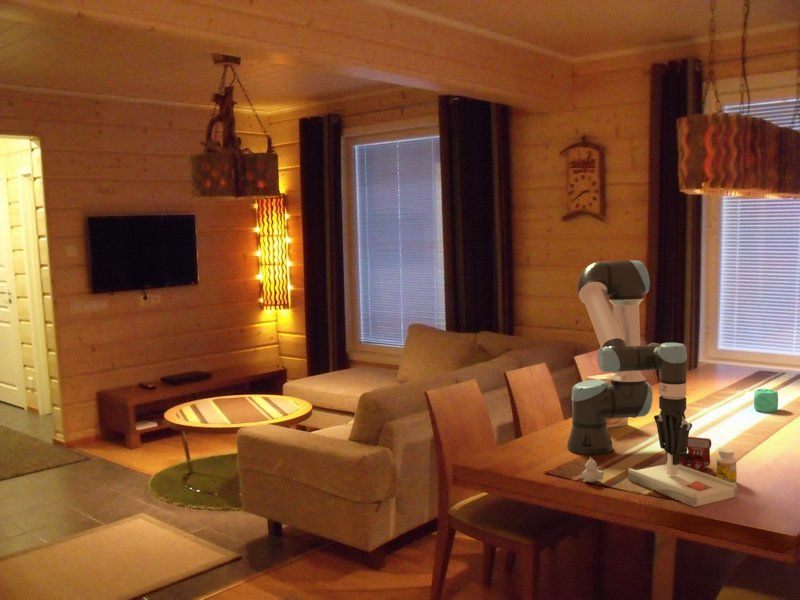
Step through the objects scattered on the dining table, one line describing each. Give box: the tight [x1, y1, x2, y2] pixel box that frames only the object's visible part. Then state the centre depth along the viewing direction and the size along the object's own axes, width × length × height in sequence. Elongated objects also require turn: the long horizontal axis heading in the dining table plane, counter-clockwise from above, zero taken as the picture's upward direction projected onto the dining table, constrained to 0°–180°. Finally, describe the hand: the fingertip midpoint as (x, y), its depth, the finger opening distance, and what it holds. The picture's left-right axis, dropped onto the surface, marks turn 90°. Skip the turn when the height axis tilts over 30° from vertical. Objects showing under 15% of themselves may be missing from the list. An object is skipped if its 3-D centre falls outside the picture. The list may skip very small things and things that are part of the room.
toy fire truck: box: [679, 436, 712, 472], centre depth 239 cm, size 7×12×10 cm, turn 57°
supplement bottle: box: [716, 448, 737, 484], centre depth 225 cm, size 5×5×10 cm
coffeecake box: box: [585, 372, 629, 429], centre depth 293 cm, size 15×7×20 cm, turn 114°
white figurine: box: [581, 456, 605, 483], centre depth 230 cm, size 5×7×8 cm
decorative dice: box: [753, 388, 779, 413], centre depth 308 cm, size 8×8×8 cm
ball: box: [690, 481, 705, 491], centre depth 216 cm, size 4×4×4 cm
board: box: [627, 461, 738, 508], centre depth 222 cm, size 26×16×4 cm, turn 25°
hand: (672, 474), depth 225 cm, fingers closed
